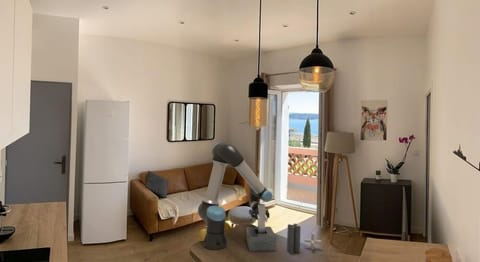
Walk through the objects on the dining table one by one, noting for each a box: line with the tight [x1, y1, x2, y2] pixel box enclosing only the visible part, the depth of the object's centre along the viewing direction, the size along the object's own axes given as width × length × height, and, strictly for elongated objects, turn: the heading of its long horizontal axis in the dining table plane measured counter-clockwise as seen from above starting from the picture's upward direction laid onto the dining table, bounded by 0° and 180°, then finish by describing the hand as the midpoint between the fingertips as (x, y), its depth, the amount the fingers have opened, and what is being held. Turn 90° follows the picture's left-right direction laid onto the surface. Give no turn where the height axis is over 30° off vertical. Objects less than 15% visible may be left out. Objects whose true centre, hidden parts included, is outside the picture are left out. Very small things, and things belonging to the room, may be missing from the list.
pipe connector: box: [304, 232, 322, 250], centre depth 184 cm, size 10×10×10 cm
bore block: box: [246, 226, 277, 252], centre depth 188 cm, size 16×16×9 cm
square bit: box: [257, 203, 266, 234], centre depth 188 cm, size 4×4×20 cm
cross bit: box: [286, 223, 302, 255], centre depth 181 cm, size 8×8×16 cm
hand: (263, 220), depth 182 cm, fingers closed on square bit, 4 cm apart
